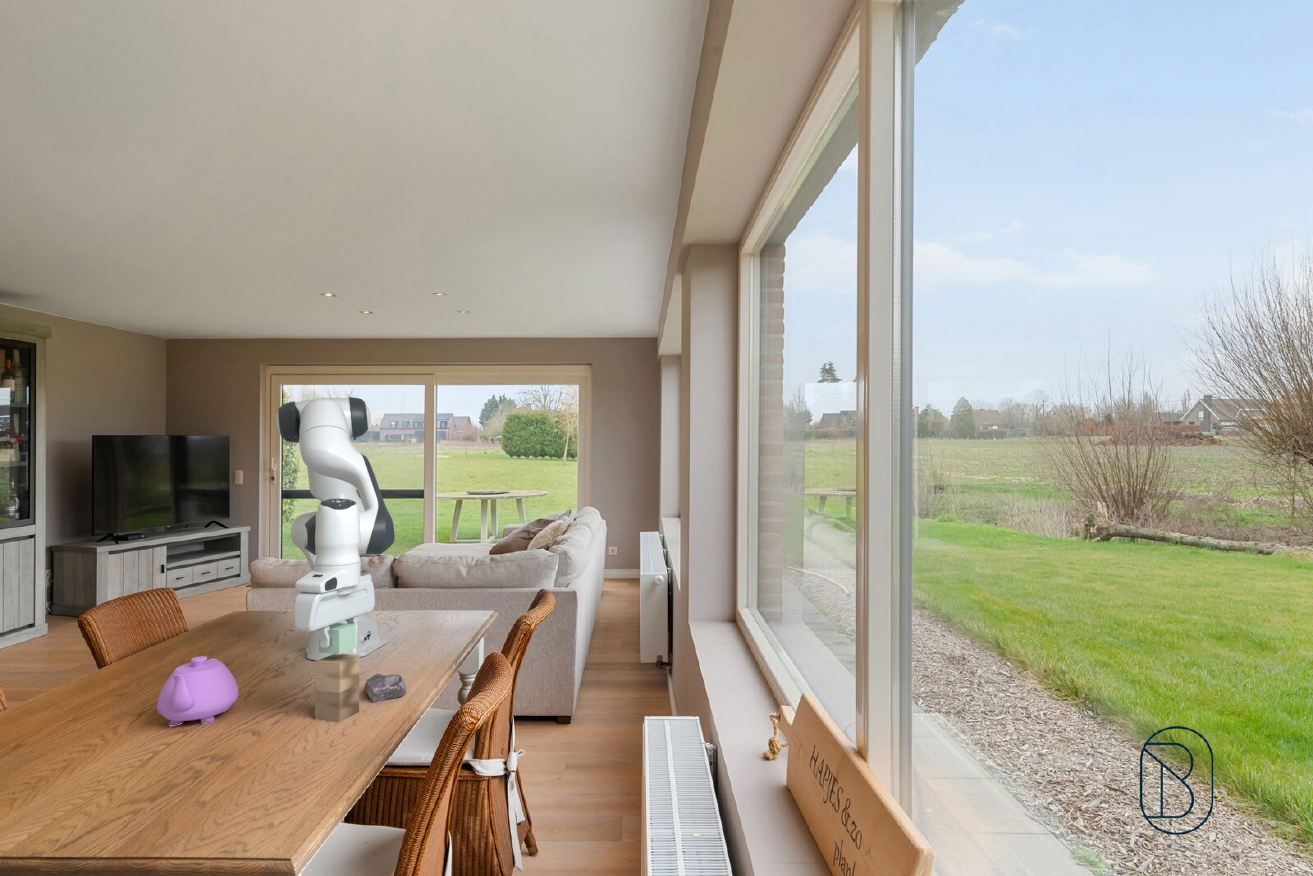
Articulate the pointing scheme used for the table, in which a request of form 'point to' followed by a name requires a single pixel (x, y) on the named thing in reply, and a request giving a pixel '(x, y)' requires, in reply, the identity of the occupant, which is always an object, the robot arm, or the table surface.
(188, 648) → the table surface
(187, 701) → the teapot
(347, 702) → the tower bottom
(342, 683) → the tower top
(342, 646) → the sage block
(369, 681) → the rock
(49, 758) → the table surface
